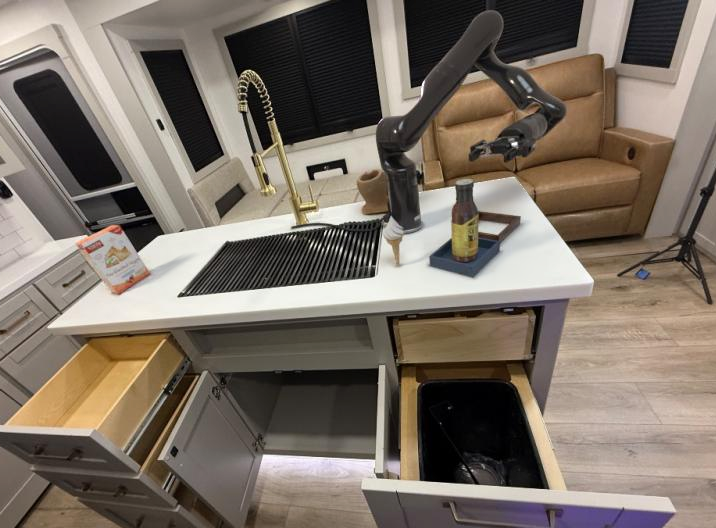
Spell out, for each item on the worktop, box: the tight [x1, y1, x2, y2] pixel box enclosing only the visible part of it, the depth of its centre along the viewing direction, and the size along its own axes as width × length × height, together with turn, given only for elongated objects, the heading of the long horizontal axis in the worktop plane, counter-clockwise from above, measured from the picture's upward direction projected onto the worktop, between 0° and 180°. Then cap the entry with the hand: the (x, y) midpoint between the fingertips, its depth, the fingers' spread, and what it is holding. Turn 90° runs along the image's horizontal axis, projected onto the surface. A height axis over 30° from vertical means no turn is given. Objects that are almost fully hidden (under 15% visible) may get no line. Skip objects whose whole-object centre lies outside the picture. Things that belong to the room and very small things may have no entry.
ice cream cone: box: [382, 216, 405, 267], centre depth 90 cm, size 6×6×15 cm
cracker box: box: [75, 224, 151, 295], centre depth 123 cm, size 14×6×21 cm, turn 148°
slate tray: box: [428, 237, 501, 278], centre depth 88 cm, size 12×13×3 cm
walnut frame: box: [478, 210, 522, 244], centre depth 97 cm, size 13×13×2 cm
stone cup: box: [356, 168, 389, 215], centre depth 123 cm, size 15×12×15 cm
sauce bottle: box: [450, 178, 479, 262], centre depth 83 cm, size 7×6×20 cm
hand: (487, 158), depth 82 cm, fingers open, 8 cm apart
